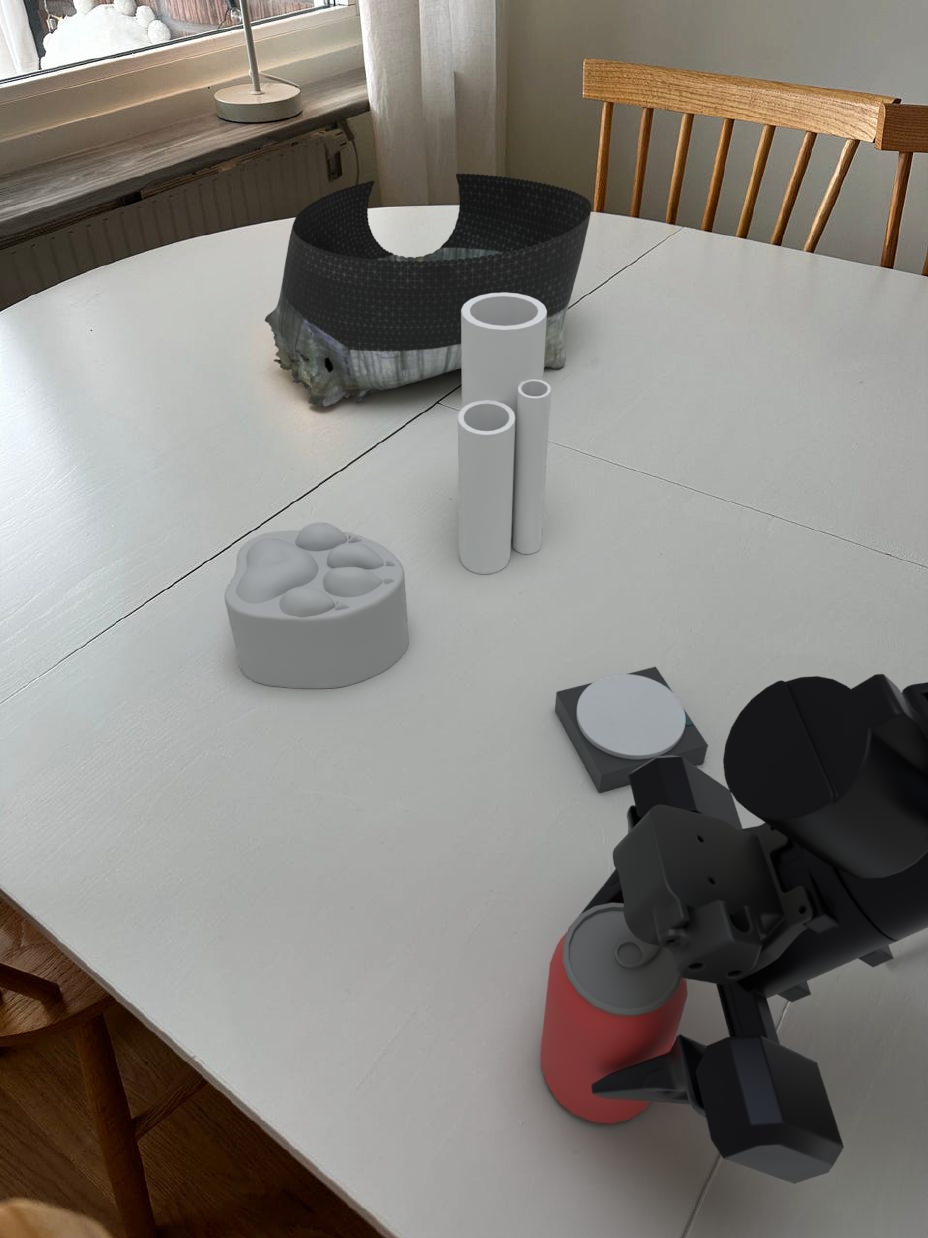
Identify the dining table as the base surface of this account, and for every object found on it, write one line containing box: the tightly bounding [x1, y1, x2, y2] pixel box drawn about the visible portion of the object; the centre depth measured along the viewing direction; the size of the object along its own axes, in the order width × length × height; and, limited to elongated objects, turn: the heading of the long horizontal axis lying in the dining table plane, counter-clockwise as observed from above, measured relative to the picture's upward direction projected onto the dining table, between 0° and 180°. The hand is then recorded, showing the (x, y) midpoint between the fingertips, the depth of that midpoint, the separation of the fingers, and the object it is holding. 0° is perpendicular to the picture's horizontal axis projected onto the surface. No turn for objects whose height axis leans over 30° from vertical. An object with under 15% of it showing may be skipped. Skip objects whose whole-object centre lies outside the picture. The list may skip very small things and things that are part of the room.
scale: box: [554, 666, 709, 794], centre depth 70 cm, size 8×8×2 cm
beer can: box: [540, 903, 688, 1125], centre depth 49 cm, size 7×7×12 cm
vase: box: [457, 293, 552, 575], centre depth 81 cm, size 11×7×20 cm, turn 178°
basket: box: [264, 173, 593, 408], centre depth 107 cm, size 28×35×16 cm
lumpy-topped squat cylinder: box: [224, 521, 410, 690], centre depth 75 cm, size 10×13×9 cm
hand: (584, 1010), depth 49 cm, fingers open, 8 cm apart
